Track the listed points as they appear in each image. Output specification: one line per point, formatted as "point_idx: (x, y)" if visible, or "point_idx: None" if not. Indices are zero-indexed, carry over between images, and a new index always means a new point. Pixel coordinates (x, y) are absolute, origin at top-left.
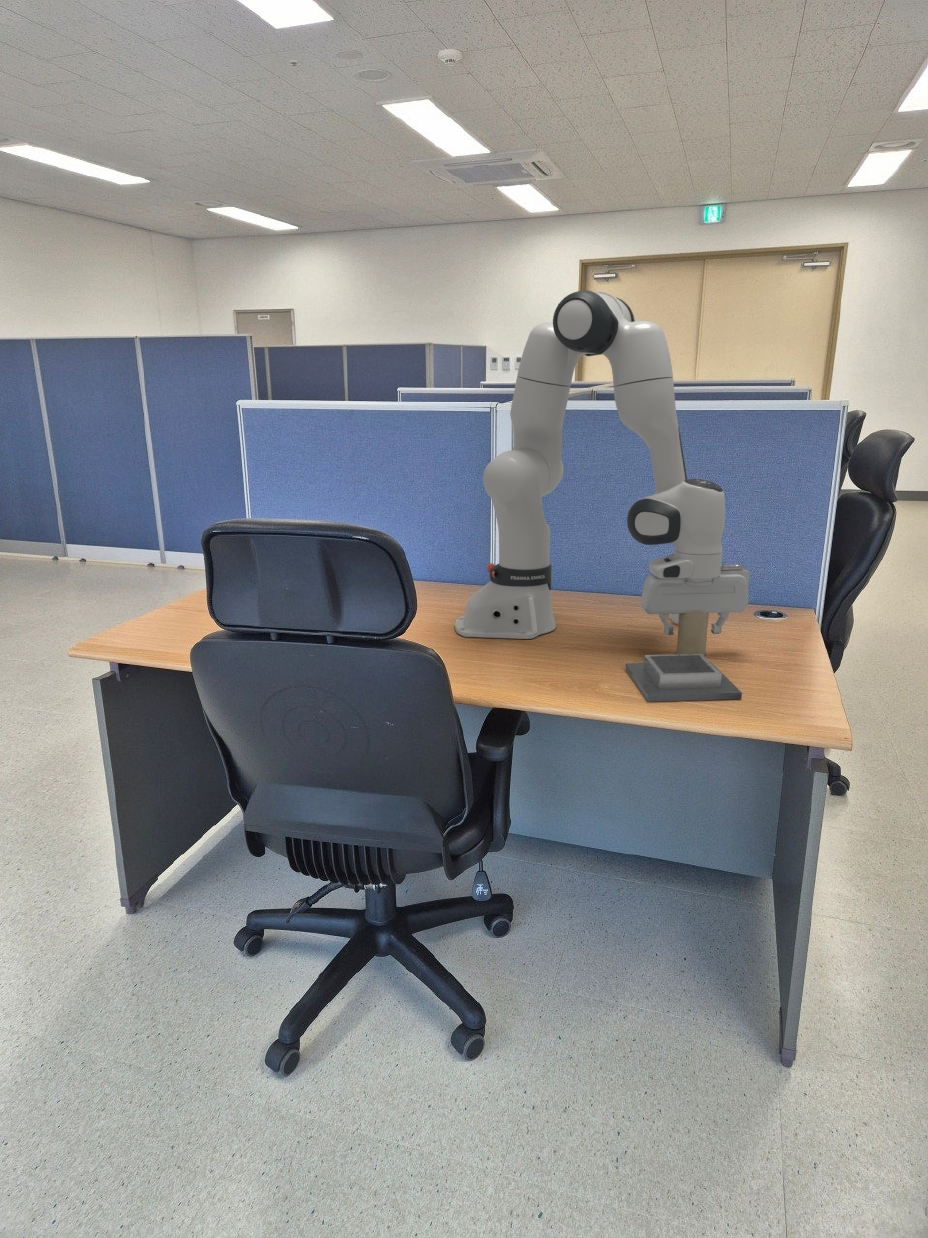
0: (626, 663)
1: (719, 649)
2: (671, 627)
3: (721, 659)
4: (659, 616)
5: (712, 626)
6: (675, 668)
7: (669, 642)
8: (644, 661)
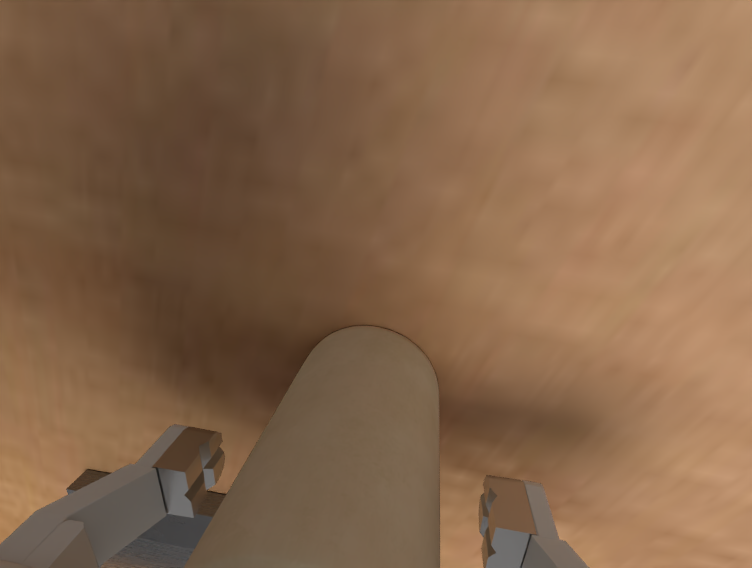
0: (68, 491)
1: (550, 357)
2: (178, 514)
3: (477, 470)
4: (37, 522)
5: (489, 528)
6: None
7: (317, 191)
8: (105, 566)
